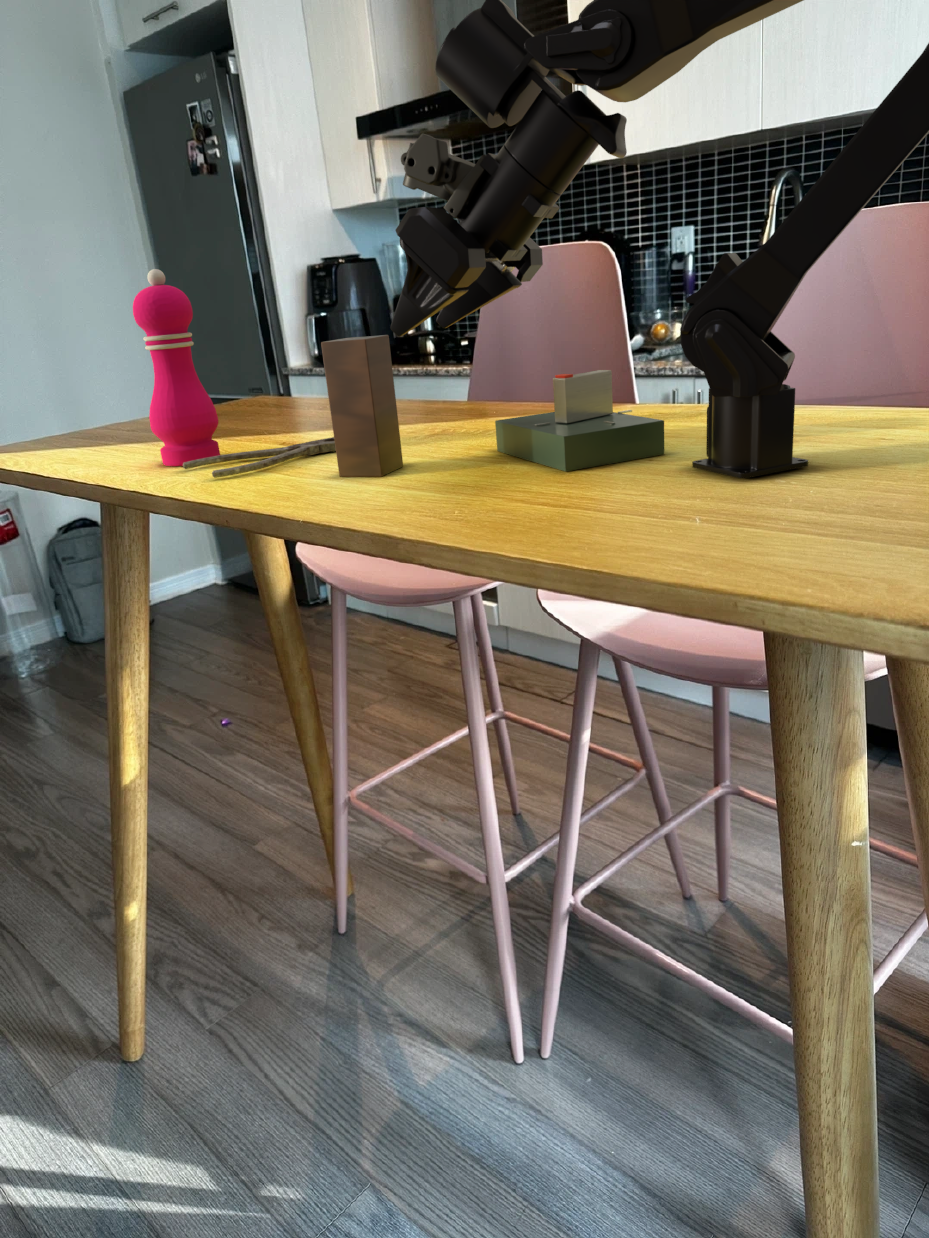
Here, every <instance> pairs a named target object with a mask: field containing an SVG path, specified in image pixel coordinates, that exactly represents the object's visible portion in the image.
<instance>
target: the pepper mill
mask: <svg viewBox="0 0 929 1238" xmlns="http://www.w3.org/2000/svg"><path fill="white" fill-rule="evenodd" d="M147 281H148V283H149V284H150V285H149V286H146V287H144V288H143V289H141V290H140V291H139V292H138V293H137V294H136V295H135V296H134V299H133V303H132V314H133V318H134V321H135V323H136V325H137V326H138V327H139V328H140V329H142V330H143V331H144V333H145V334H146V336H144V337H143V338H142V339H143V341H144V342H145V347H144V349H145V350H146V351H149V353H150V357H151V361H152V367H153V374H154V375H153V377H154V379H153V380H154V381H153V390H152V396H151V401H150V405H149V416H148V419H149V425H150V430H151V432H152V434H154V436H156V437H157V438H158V439H159V440H160V441H161V442H163V444H164V445H163V446H162V447H161V448H160V450H159V451H160V457H161V461H162V464H163V466H166V467H183V463H184V462H188V461H193V460H197V459H202V458H207V457H213V456H219V455H221V451H220V447H219V442H218V440H215V439H213V435H214V433H215V432H216V430H217V428H218V426H219V417H218V412H217V410H216V407H215V405H214V402H213V400H212V398H211V397H210V395H209V394H208V392H207V391H206V389H205V387H204V386H203V384H202V382H201V381H200V379H199V376H198V374H197V371H196V369H195V364H194V361H193V356H192V347H193V346H194V345H195V342H194V341H193V338H192V337H193V333H192V332H190V331H188V329H189V326H190V324H191V322H192V320H193V317H194V311H193V307H192V302H191V300H190V298H189V297H188V296H187V294H185V292H184V291H183V290H181V289H179V288H178V287H176V286H172V285H168V284H165V283H166V275H165V274H164V272H163V271H162V270H160V269H158V268H152V269H150V271H148V273H147Z"/></svg>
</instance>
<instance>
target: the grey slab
mask: <svg viewBox="0 0 929 1238" xmlns="http://www.w3.org/2000/svg"><path fill="white" fill-rule="evenodd" d="M552 387H553V388H552V389H553V404H554V405H553V407H554V412H555V423H563V424H568V423H573V422H578V421H582V420H587V419H591V418H596V417H601V416H605V415H610V414H613V412H614V408H613V406H614V405H613V402H614V401H613V371H612V370H611V369H597V370H592V371H587V372H580V373H576V374H575V373H574V374H573V373H561V374H555V375H554V377H553V378H552Z"/></svg>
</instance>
